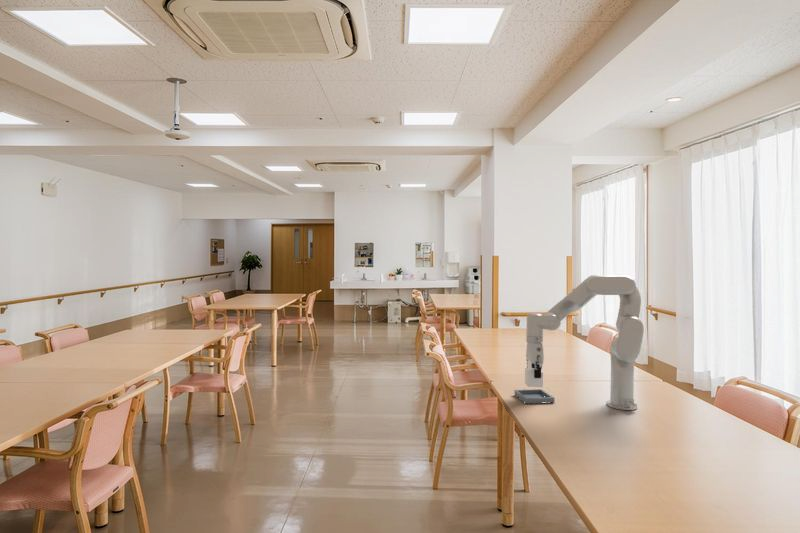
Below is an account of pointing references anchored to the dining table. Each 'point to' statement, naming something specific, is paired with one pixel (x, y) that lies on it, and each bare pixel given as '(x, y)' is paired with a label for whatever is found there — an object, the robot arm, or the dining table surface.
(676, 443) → the dining table surface
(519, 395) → the tray
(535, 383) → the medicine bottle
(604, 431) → the dining table surface
